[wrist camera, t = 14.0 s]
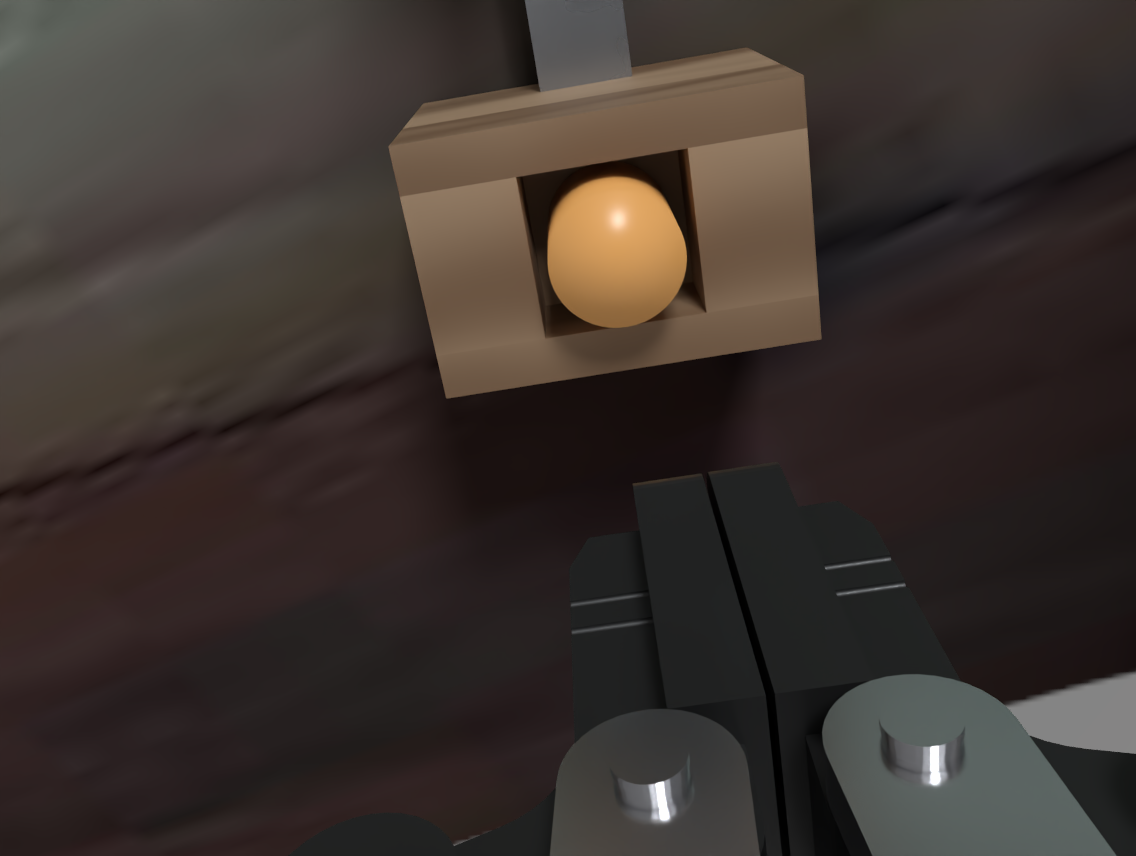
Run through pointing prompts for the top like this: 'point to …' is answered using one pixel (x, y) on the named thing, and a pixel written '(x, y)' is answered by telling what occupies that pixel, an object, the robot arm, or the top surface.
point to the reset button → (614, 246)
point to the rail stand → (595, 135)
